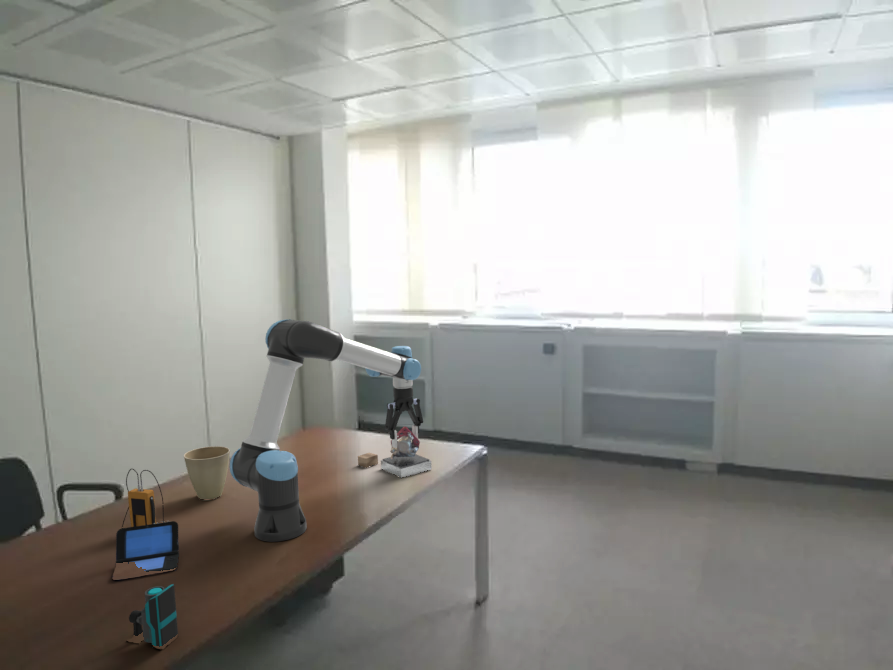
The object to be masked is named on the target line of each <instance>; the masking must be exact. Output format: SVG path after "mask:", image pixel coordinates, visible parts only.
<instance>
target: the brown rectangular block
mask: <svg viewBox="0 0 893 670" xmlns="http://www.w3.org/2000/svg"><path fill="white" fill-rule="evenodd" d="M378 457H379V456H378V454H376V453H372V452H366V453H364V454H361V455H358V456H357V464H358V465H360V466H359V467H361V466H363V467H362V468H365V467H366V468H365V469H368V468H370V467H369V466H371V467H373V466H372V465H374V466H376V465H375V464H377V465H379V458H378ZM358 465H357V466H358ZM367 467H368V468H367Z"/></svg>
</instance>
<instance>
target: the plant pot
mask: <svg viewBox="0 0 893 670" xmlns="http://www.w3.org/2000/svg"><path fill="white" fill-rule="evenodd" d="M230 452H231V450H230V448H229V447H226V446H220V445H219V446H218V445H217V446H216V445H215V446H214V445H213V446H205V447H204V446H203V447H197V448H194V449H192V450H188V451H187V452H185V453H184V454H183V458H184V459H183V460H184V463H185V467H186V470H187V474H188V478H189V480H190V482H191V485H192V487H193V489H194V492H195V493H196V496H197V497H198V499H199V498H200V499H213V500H215V499H214V498H216V499H218V498H217V497H219V496H220V497H221V496H222V494H223V491H224V487H225V483H226V480H227V476H228V471H229V470H228V469H229V466H230ZM220 497H219V498H220ZM200 499H199V500H200Z"/></svg>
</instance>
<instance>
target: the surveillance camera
mask: <svg viewBox="0 0 893 670" xmlns="http://www.w3.org/2000/svg"><path fill="white" fill-rule="evenodd" d="M175 590H176V589H175V584H174V583H172V584H169V585H168V586H167V587H164V586H162V585H156V586H153V587H149V588H148V589H146V590H145V591H144V600H145V604H144V608H142V609H141V610H137V609H136V610H132V611H131V612H130V614H129V616H128V621H129V622H130V623H131V624H133V634H132V636H133V635H135V636H138V635H139V634H141V633H142V632H143V637H144V641H143V642H145V643H149V644H150V643H151V645H154V646H159V647H160V646H163V645H164V644H166V643H167V642H168V641H169V640H170V639H172V638H173V637H175V636H176V635H177V634H178V635H179V628H178V619H177V618H178V616H177V604H176V591H175Z"/></svg>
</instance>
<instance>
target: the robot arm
mask: <svg viewBox="0 0 893 670" xmlns="http://www.w3.org/2000/svg"><path fill="white" fill-rule="evenodd" d="M265 344H266V347H267V353H266V358H267V360H268V362H269V365H268V367H267V371H266V375H265V379H264V382H263V386H262V389H261V392H260V397H259V400H258V403H257V408H256V411H255V414H254V418H253V421H252V425H251V429H250V432H249V435H248V437H246V438H244V439H242V441H241V446H240V447H239V448H238V449H236V451H235V452H233V454H232V455H231V458H230V459H229V472H230V476H231V477H232V479H234V481H236V482H237V483H238V484H240V485H241V486H243V487H245V488H246V487H247V488H249V489H251V490H252V491H255V492H256V493H257V495H258V498H257V499H258V512H257V516H256V519H255V524H254V528H253V529H254V531H253V532H254V537H255V538H256V539H257V540H260V541H263V542H271V543H272V542H275V543H276V542H283V541H288V540H292V539H294V538H295V539H296V538H298V537H300V536H301V535H303V534H304V533H305V532H306V531H307V526H308V525H307V519H306V516H305V515H304V512H303V509H302V507H301V504H300V493H299V492H300V490H299V477H298V476H299V473H298V472H299V467H298V462H297V457H296V456H295V455H294V453H291V452H289V451H286V450H280V449H281V448H280V446H279V445H278V443H277V441H278V438H279V435H280V431H281V427H282V422H283V420H284V416H285V412H286V409H287V404H288V401H289V397H290V393H291V390H292V387H293V383H294V380H295V375H296V373H297V370H298V369H299V368H301V367H303V365H304V362H305V359H315V360H316V359H318V360H324V361H328V362H334V361H339V362H342V363H347V364H350V365H353V366H357V367H360V368H362V369H365V372H366V373H367V375H368V376H369V377H371V378H374V377H375V378H376V377H382V376H383V377H388V378H392V386H393V388H392V391H393V396H392V397H393V402H391V403H387V404H386V408H387V410H386V411H387V412H386V417H385V418H386V419H385V423H384V425H385V426H384V429H385V430H386V431H389V438H390V440H392V446H391V448H392V447H394V448H397V441H398V440H397V437H398V436H397V433H398V431H397V430H396V428H397V425H398V422H399V419H400V416H401V415H402V414H403V412H407V413H408V416H409V418H410V419H411V421H412V423H413V424H412V425H411V432H412V433H413V434H414V435H415V436H416V437H417V438H418V439H419V433H420V426H421V424H423V423H424V418H423V414H422V408H421V404H420V403H421V400H420V398H416V397H415V398H414V397H413V396H414V387H413V384H414V383H413V381H415V380H417V379H418V378H419V377H420V376H421V374H422V373H421V372H422V364H421V363H420V362H419V360H418V359H415V358H413V355H412V352H413V351H412V348H411V347H410V346H408V345H396V346H393V347H391V352H390V351H386V350H384V349H381V348H378V347H374V346H372V345H369V344H366V343H362V342H359V341H357V340H352V339H350V338H347V337H344V336H343V335H342V333H341V332H339V331H336V330H333V329H331V328H328V327H325V326H323V325H320V324H318V323H316V322H313V321H308V320H299V319H298V320H297V319H292V318H291V319H290V318H288V319H280V320H278V321H276V322H275V321H274V322H273V324H271V325H270V326H269V328H268V329H267V332H266V333H265ZM413 407H414V408H413ZM412 437H413V436H412Z"/></svg>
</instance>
